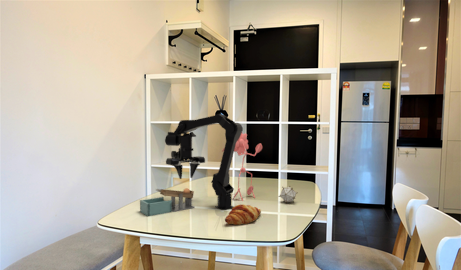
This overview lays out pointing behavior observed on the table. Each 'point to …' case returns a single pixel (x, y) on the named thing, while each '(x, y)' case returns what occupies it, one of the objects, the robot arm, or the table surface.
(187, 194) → the lever
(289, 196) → the grey spiked polyhedron
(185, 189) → the ball
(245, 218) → the croissant
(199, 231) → the table surface
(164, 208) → the bin
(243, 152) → the figurine
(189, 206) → the stand
